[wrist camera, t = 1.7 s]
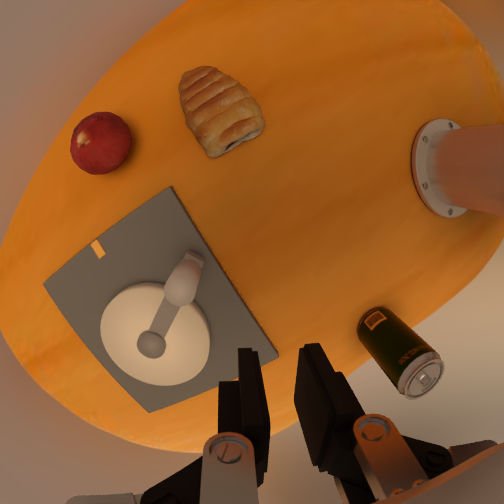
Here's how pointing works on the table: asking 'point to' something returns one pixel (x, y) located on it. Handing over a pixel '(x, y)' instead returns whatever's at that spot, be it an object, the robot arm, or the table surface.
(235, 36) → the table surface
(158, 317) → the dial
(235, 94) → the pastry
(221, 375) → the base plate
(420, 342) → the beer can
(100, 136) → the onion
